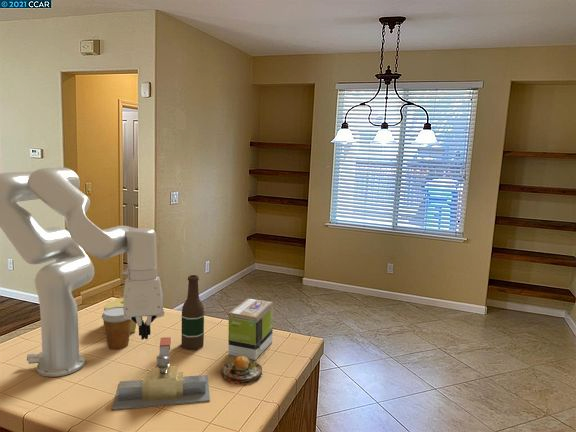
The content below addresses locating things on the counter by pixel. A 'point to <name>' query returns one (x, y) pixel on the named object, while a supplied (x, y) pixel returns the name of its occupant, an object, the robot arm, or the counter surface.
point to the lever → (164, 353)
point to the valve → (162, 385)
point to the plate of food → (242, 371)
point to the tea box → (250, 328)
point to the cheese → (114, 304)
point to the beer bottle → (193, 317)
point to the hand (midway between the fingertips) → (144, 337)
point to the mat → (146, 403)
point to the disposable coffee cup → (116, 328)
